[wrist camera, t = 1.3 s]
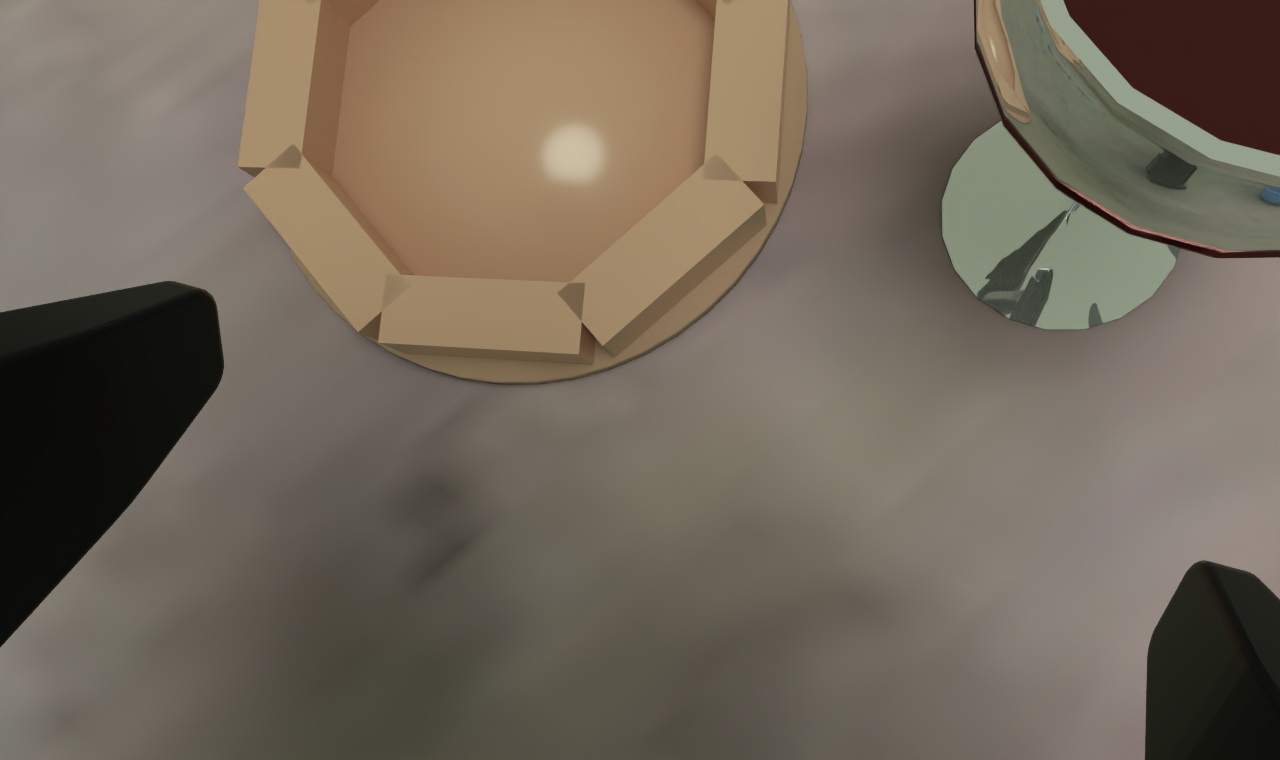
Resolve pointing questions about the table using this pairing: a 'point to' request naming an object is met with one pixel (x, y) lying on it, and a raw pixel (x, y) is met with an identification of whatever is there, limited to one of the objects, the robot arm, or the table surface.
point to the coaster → (524, 168)
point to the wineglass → (1115, 151)
